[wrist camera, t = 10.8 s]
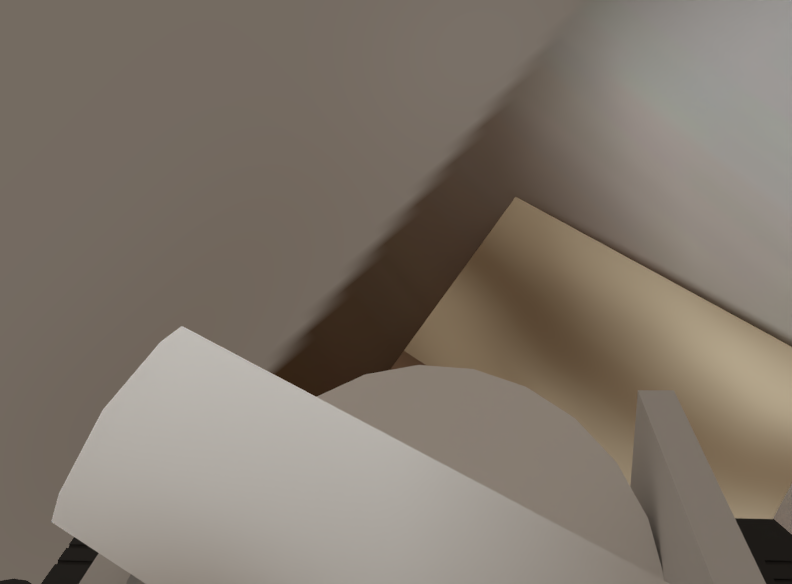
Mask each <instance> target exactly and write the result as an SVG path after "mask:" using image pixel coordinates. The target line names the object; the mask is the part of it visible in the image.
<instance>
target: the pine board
mask: <svg viewBox="0 0 792 584" xmlns="http://www.w3.org/2000/svg"><path fill="white" fill-rule="evenodd" d="M415 365H427V366H441V367H454V368H468V369H475V370H478V371H481V372H484V373H487V374H490V375H493V376H496V377H499V378H502V379H505V380H508V381H511V382H513V383H516V384H519V385H522V386H525V387H527V388H529V389H530V390H532V391H534V392H535V393H537V394H538V395H540V396H541V397H543V398H544V399H546V400H547V401H549V402H551V403H552V404H554V405H555V406H557V407H558V408H560V409H561V410H563V411H565V412H566V413H568V414H569V415H571V416H572V417H574V418H575V419H576V420H577V421H578V422H579V423H580V424H581V425H582V426H583V427H584V428H585V429H586V430H587V431H588V433H589V434H590V435H591V436H592V437H593V438H594V439H595V440H596V441H597V442H598V443H599V444H600V445H601V446H602V447H603V449H604V450H605V451H606V452H607V453H608V454H609V455H610V456H611V457H612V458H613V459H614V460H615V461H616V462H617V464H618V466H619V467H620V469H621V471H622V473H623V475H624V476H625V478H626V480H627V482H628V483H629V485H630V484H631V471H632V459H633V446H634V433H635V421H636V408H637V396H638V390H674V392H675V394H676V396H677V398H678V400H679V402H680V404H681V406H682V408H683V411H684V413H685V415H686V417H687V419H688V421H689V423H690V425H691V427H692V429H693V432H694V434H695V436H696V438H697V440H698V442H699V444H700V446H701V448H702V450H703V452H704V455H705V457H706V459H707V461H708V463H709V465H710V467H711V469H712V471H713V473H714V476H715V478H716V480H717V482H718V484H719V486H720V488H721V490H722V492H723V494H724V497H725V499H726V501H727V503H728V505H729V507H730V509H731V511H732V513H733V515H734V517H735V518H744V519H773V517H774V515H775V514H776V512H777V510H778V508H779V506H780V504H781V502H782V501H783V499H784V497H785V495H786V493H787V491H788V489H789V488H790V486H791V484H792V347H791V346H789V345H787V344H785V343H784V342H782V341H780V340H778V339H776V338H774V337H773V336H771V335H769V334H767V333H765V332H763V331H762V330H760V329H758V328H756V327H754V326H752V325H751V324H749V323H747V322H745V321H743V320H741V319H740V318H738V317H736V316H734V315H732V314H730V313H729V312H727V311H725V310H723V309H721V308H719V307H717V306H716V305H714V304H712V303H710V302H708V301H706V300H705V299H703V298H701V297H699V296H697V295H695V294H694V293H692V292H690V291H688V290H686V289H684V288H683V287H681V286H679V285H677V284H675V283H673V282H672V281H670V280H668V279H666V278H664V277H662V276H661V275H659V274H657V273H655V272H653V271H651V270H650V269H648V268H646V267H644V266H642V265H640V264H638V263H637V262H635V261H633V260H631V259H629V258H627V257H626V256H624V255H622V254H620V253H618V252H616V251H615V250H613V249H611V248H609V247H607V246H605V245H604V244H602V243H600V242H598V241H596V240H594V239H593V238H591V237H589V236H587V235H585V234H583V233H582V232H580V231H578V230H576V229H574V228H572V227H571V226H569V225H567V224H565V223H563V222H561V221H559V220H558V219H556V218H554V217H552V216H550V215H548V214H547V213H545V212H543V211H541V210H539V209H537V208H536V207H534V206H532V205H530V204H528V203H526V202H525V201H523V200H521V199H519V198H517V197H515V198H514V200H513V201H512V202H511V204H510V205H509V207H508V208H507V209H506V211H505V212H504V213H503V215H502V216H501V218H500V219H499V220H498V222H497V223H496V224H495V226H494V227H493V229H492V230H491V231H490V233H489V234H488V235H487V237H486V238H485V240H484V241H483V242H482V244H481V245H480V246H479V248H478V249H477V251H476V252H475V253H474V255H473V256H472V257H471V259H470V260H469V262H468V263H467V264H466V266H465V267H464V268H463V270H462V271H461V273H460V274H459V275H458V277H457V278H456V279H455V281H454V282H453V284H452V285H451V286H450V288H449V289H448V290H447V292H446V293H445V295H444V296H443V297H442V299H441V300H440V301H439V303H438V304H437V306H436V307H435V308H434V310H433V311H432V313H431V314H430V315H429V317H428V318H427V319H426V321H425V322H424V324H423V325H422V326H421V328H420V329H419V330H418V332H417V333H416V335H415V336H414V337H413V339H412V340H411V341H410V343H409V344H408V346H407V347H406V348H405V350H404V351H403V352H402V354H401V355H400V357H399V358H398V359H397V361H396V362H395V363H394V365H393V366H392V368H391V369H390V370H393V369H398V368H404V367H409V366H415Z"/></svg>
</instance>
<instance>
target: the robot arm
mask: <svg viewBox="0 0 792 584" xmlns="http://www.w3.org/2000/svg"><path fill="white" fill-rule="evenodd" d="M630 487H631V489H632V491H633V492H634V494H635V496H636V498H637V499H638V501H639V503H640V505H641V507H642V508H643V510H644V512H645V514H646V515H647V517H648V520H649V523H650V527H651V530H652V534H653V538H654V541H655V545H656V549H657V552H658V556H659V559H660V563H661V567H662V570H663V576H664V581H666V582H667V583H669V584H792V534H790V533H789V532H788V531H787V530H786V529H785V528H783V527H782V526H781V525H780V524H779V523H778V522H776V521H775V520H774V519H744V518H735V517H734V515H733V513H732V511H731V509H730V507H729V505H728V503H727V501H726V499H725V497H724V494H723V492H722V490H721V488H720V486H719V484H718V482H717V480H716V478H715V476H714V473H713V471H712V469H711V467H710V465H709V463H708V461H707V459H706V457H705V455H704V452H703V450H702V448H701V446H700V444H699V442H698V440H697V438H696V436H695V434H694V432H693V429H692V427H691V425H690V423H689V421H688V419H687V417H686V415H685V413H684V411H683V408H682V406H681V404H680V402H679V400H678V398H677V396H676V394H675V392H674V390H638V396H637V408H636V421H635V433H634V446H633V459H632V471H631V484H630ZM0 584H31V583H30V582H28V581H25V580H18V579H10V580H4V581H0ZM42 584H145V583H144V582H142V581H141V580H139V579H138V578H136V577H135V576H133V575H132V574H130V573H128V572H127V571H125V570H124V569H122V568H121V567H119V566H118V565H116V564H115V563H113V562H112V561H110V560H109V559H107V558H106V557H104V556H103V555H101V554H99V553H98V552H96V551H95V550H93V549H92V548H90V547H89V546H87V545H86V544H84V543H83V542H81V541H80V540H78V539H77V538H75V537H74V538H73V540H72V541H71V543H70V546H69V548H66V550H65V551H64V552H63V554H62V555H61V557H60V558H59V560H58V564H55V565H54V567H53V568H52V569H51V571H50V572H49V574H48V575H47V576H46V578H45V579H44V580H43V582H42Z"/></svg>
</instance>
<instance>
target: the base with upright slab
mask: <svg viewBox="0 0 792 584" xmlns="http://www.w3.org/2000/svg"><path fill="white" fill-rule="evenodd" d="M51 522H52V523H54V524H56V525H57V526H58V527H60V528H61V529H63V530H65V531H66V532H67V533H69V534H71V535H72V536H74V537H75V538H77V539H78V540H80V541H81V542H83V543H84V544H86V545H87V546H89V547H90V548H92V549H93V550H95V551H96V552H98V553H99V554H101V555H103V556H104V557H106V558H107V559H109V560H110V561H112V562H113V563H115V564H116V565H118V566H119V567H121V568H122V569H124V570H125V571H127V572H128V573H130V574H132V575H133V576H135V577H136V578H138V579H139V580H141V581H142V582H144V583H145V584H669V583H667V582H666V581H664V576H663V570H662V567H661V563H660V559H659V556H658V552H657V549H656V545H655V541H654V538H653V534H652V530H651V527H650V523H649V520H648V517H647V515H646V514H645V512H644V510H643V508H642V507H641V505H640V503H639V501H638V499H637V498H636V496H635V494H634V492H633V491H632V489H631V487H630V485H629V483H628V482H627V480H626V478H625V476H624V475H623V473H622V471H621V469H620V467H619V466H618V464H617V462H616V461H615V460H614V459H613V458H612V457H611V456H610V455H609V454H608V453H607V452H606V451H605V450H604V449H603V447H602V446H601V445H600V444H599V443H598V442H597V441H596V440H595V439H594V438H593V437H592V436H591V435H590V434H589V433H588V431H587V430H586V429H585V428H584V427H583V426H582V425H581V424H580V423H579V422H578V421H577V420H576V419H575V418H574V417H572V416H571V415H569V414H568V413H566V412H565V411H563V410H561V409H560V408H558V407H557V406H555V405H554V404H552V403H551V402H549V401H547V400H546V399H544V398H543V397H541V396H540V395H538V394H537V393H535V392H534V391H532V390H530V389H529V388H527V387H525V386H522V385H519V384H516V383H513V382H511V381H508V380H505V379H502V378H499V377H496V376H493V375H490V374H487V373H484V372H481V371H478V370H475V369H468V368H454V367H441V366H427V365H415V366H409V367H404V368H398V369H393V370H387V371H382V372H376V373H371V374H365V375H363V376H361V377H358V378H356V379H354V380H352V381H350V382H347V383H345V384H343V385H341V386H339V387H337V388H334V389H332V390H330V391H328V392H326V393H323V394H321V395H319V396H317V397H316V396H314V395H312V394H310V393H308V392H306V391H304V390H302V389H300V388H299V387H297V386H295V385H293V384H291V383H289V382H287V381H285V380H283V379H282V378H280V377H278V376H276V375H274V374H272V373H270V372H268V371H266V370H264V369H263V368H261V367H259V366H257V365H255V364H253V363H251V362H249V361H247V360H246V359H243V358H242V357H240V356H238V355H236V354H234V353H232V352H230V351H228V350H227V349H225V348H223V347H221V346H219V345H217V344H215V343H213V342H212V341H210V340H208V339H206V338H204V337H202V336H200V335H198V334H196V333H194V332H193V331H190V330H189V329H187V328H185V327H183V326H181V327H180V328H178V329H177V330H176V331H174V332H173V333H172V334H170V335H169V336H168V337H166V338H165V339H164V340H162V341H161V342H160V343H159V344H158V345H157V346H156V348H155V349H154V350H153V351H152V353H151V354H150V355H149V356H148V357H147V358H146V360H145V361H144V362H143V363H142V364H141V365H140V367H139V368H138V369H137V370H136V371H135V372H134V374H133V375H132V376H131V377H130V378H129V380H128V381H127V382H126V383H125V384H124V385H123V387H122V388H121V389H120V390H119V391H118V393H117V394H116V395H115V396H114V397H113V398H112V400H111V401H110V402H109V403H108V404H107V405H106V407H105V408H104V409H103V410H102V412H101V414H100V416H99V418H98V420H97V422H96V424H95V426H94V428H93V429H92V432H91V433H90V435H89V437H88V439H87V441H86V443H85V445H84V447H83V449H82V450H81V452H80V454H79V456H78V458H77V460H76V462H75V464H74V466H73V468H72V469H71V471H70V473H69V475H68V477H67V479H66V481H65V483H64V485H63V487H62V489H61V491H60V492H59V495H58V500H57V503H56V507H55V510H54V514H53V518H52V521H51Z"/></svg>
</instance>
